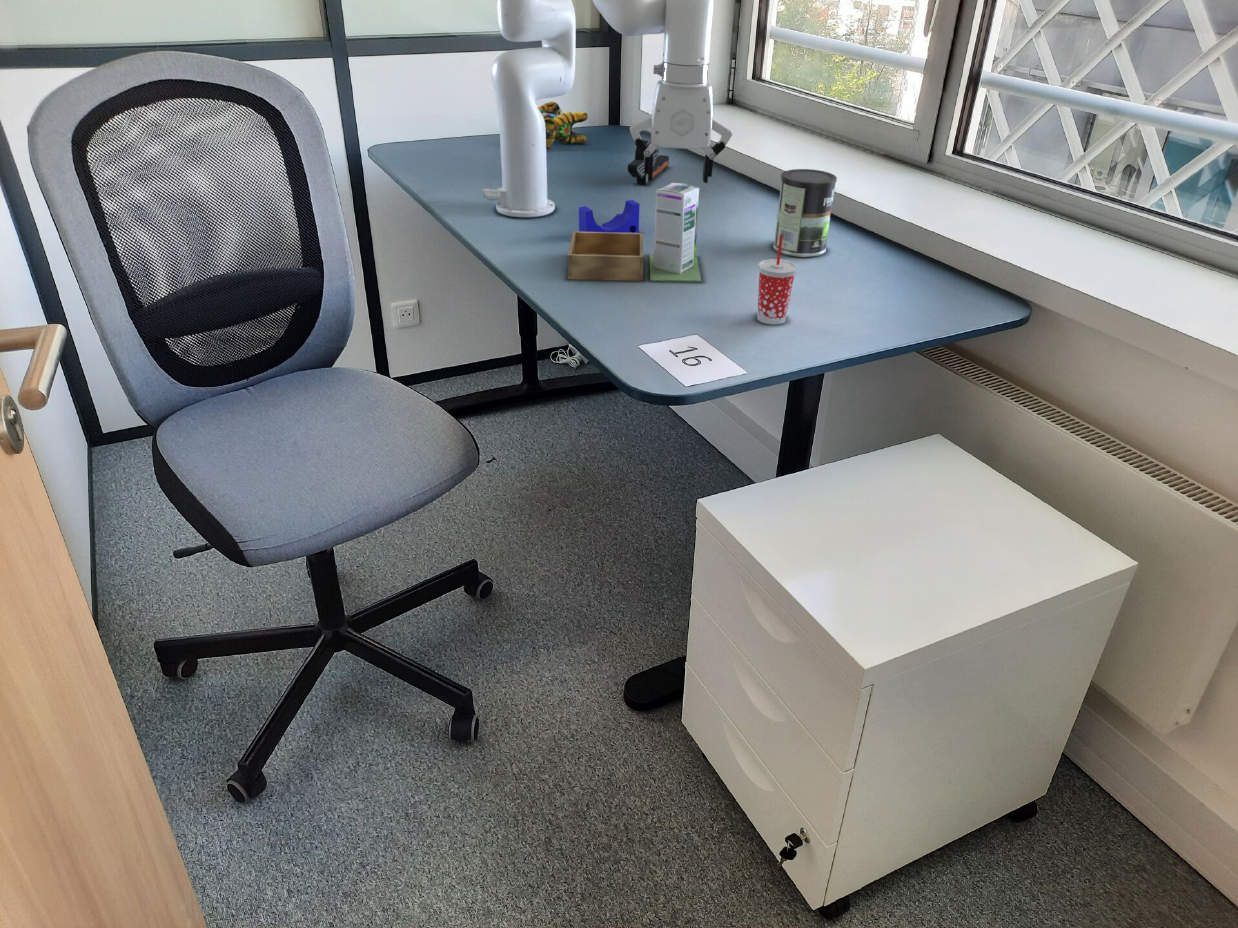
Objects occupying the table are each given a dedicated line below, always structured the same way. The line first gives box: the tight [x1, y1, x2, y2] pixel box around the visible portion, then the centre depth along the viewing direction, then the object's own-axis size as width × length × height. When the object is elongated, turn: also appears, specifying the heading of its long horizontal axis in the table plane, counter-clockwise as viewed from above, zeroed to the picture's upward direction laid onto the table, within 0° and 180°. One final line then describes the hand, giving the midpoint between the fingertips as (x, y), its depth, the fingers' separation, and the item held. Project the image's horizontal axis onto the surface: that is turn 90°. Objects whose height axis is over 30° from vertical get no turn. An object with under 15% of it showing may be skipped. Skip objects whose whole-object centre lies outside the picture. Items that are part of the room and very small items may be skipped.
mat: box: [649, 254, 702, 283], centre depth 162 cm, size 9×13×1 cm
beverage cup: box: [756, 234, 798, 325], centre depth 139 cm, size 6×6×14 cm
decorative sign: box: [627, 139, 670, 186], centre depth 210 cm, size 27×2×10 cm, turn 161°
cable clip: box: [578, 199, 641, 233], centre depth 176 cm, size 12×4×6 cm, turn 118°
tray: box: [567, 230, 644, 282], centre depth 160 cm, size 13×13×4 cm
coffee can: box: [773, 168, 838, 258], centre depth 169 cm, size 10×10×14 cm
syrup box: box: [653, 182, 700, 274], centre depth 158 cm, size 6×6×14 cm
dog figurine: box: [537, 101, 588, 151], centre depth 240 cm, size 20×12×18 cm
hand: (677, 179), depth 153 cm, fingers open, 9 cm apart
